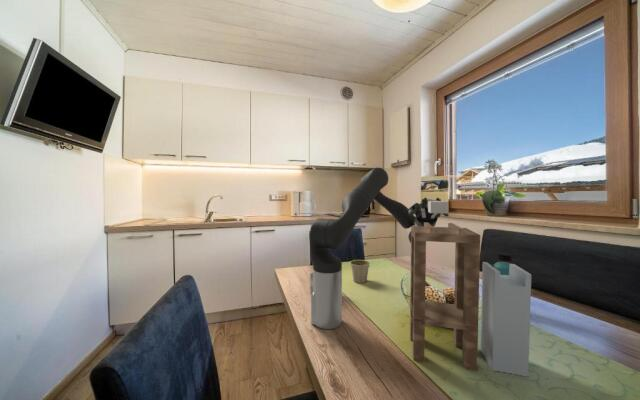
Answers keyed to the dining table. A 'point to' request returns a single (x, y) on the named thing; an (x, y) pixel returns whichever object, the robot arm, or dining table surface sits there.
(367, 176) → the robot arm
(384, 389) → the dining table surface
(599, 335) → the dining table surface
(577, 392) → the dining table surface
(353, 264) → the flower pot
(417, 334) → the walnut stand
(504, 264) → the beverage bottle
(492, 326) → the box
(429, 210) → the light grey bar
